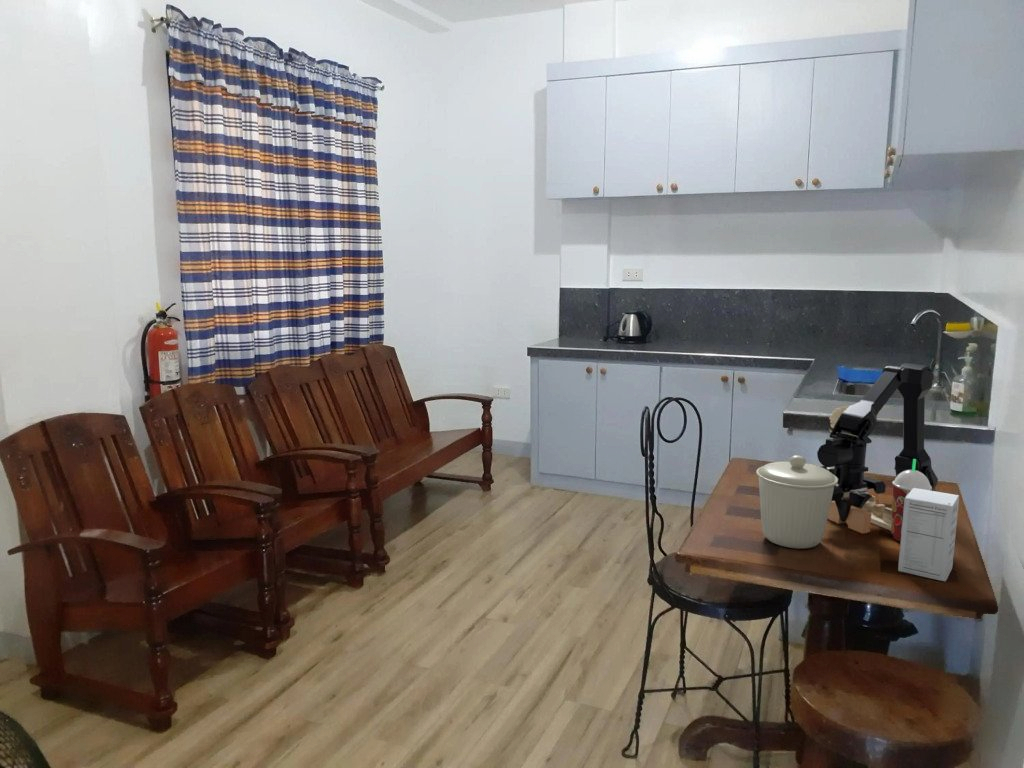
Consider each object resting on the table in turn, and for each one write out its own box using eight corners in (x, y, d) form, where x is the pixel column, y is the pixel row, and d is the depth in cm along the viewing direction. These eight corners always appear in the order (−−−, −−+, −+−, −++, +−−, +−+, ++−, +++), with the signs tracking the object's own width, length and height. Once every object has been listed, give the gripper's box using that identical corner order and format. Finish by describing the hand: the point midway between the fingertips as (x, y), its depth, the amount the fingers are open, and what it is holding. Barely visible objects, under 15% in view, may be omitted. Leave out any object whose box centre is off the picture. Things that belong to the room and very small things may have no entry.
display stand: (864, 507, 204) (865, 491, 204) (916, 527, 190) (918, 509, 189) (842, 511, 201) (843, 494, 200) (893, 531, 187) (895, 514, 186)
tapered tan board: (831, 516, 197) (833, 498, 196) (869, 532, 186) (871, 512, 185) (824, 517, 196) (826, 499, 195) (862, 533, 185) (864, 514, 184)
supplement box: (953, 568, 165) (961, 495, 162) (946, 582, 158) (955, 506, 155) (905, 557, 171) (912, 486, 168) (896, 570, 164) (903, 496, 161)
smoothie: (925, 548, 176) (934, 466, 173) (885, 541, 180) (894, 460, 177) (926, 537, 184) (934, 457, 180) (888, 530, 188) (895, 452, 184)
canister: (833, 534, 185) (840, 451, 181) (831, 561, 169) (839, 470, 165) (756, 523, 192) (761, 442, 188) (747, 548, 176) (753, 460, 172)
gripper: (853, 450, 199) (848, 506, 202) (799, 457, 192) (795, 515, 195) (889, 460, 189) (883, 520, 192) (834, 468, 182) (828, 530, 185)
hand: (847, 520), depth 191 cm, fingers closed on tapered tan board, 2 cm apart
